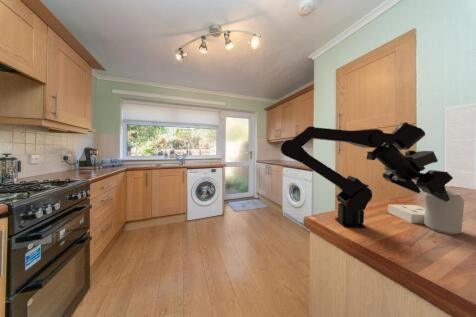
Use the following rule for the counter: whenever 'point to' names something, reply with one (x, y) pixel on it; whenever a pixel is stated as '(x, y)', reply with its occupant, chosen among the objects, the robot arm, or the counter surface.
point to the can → (444, 213)
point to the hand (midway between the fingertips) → (432, 196)
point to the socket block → (408, 212)
